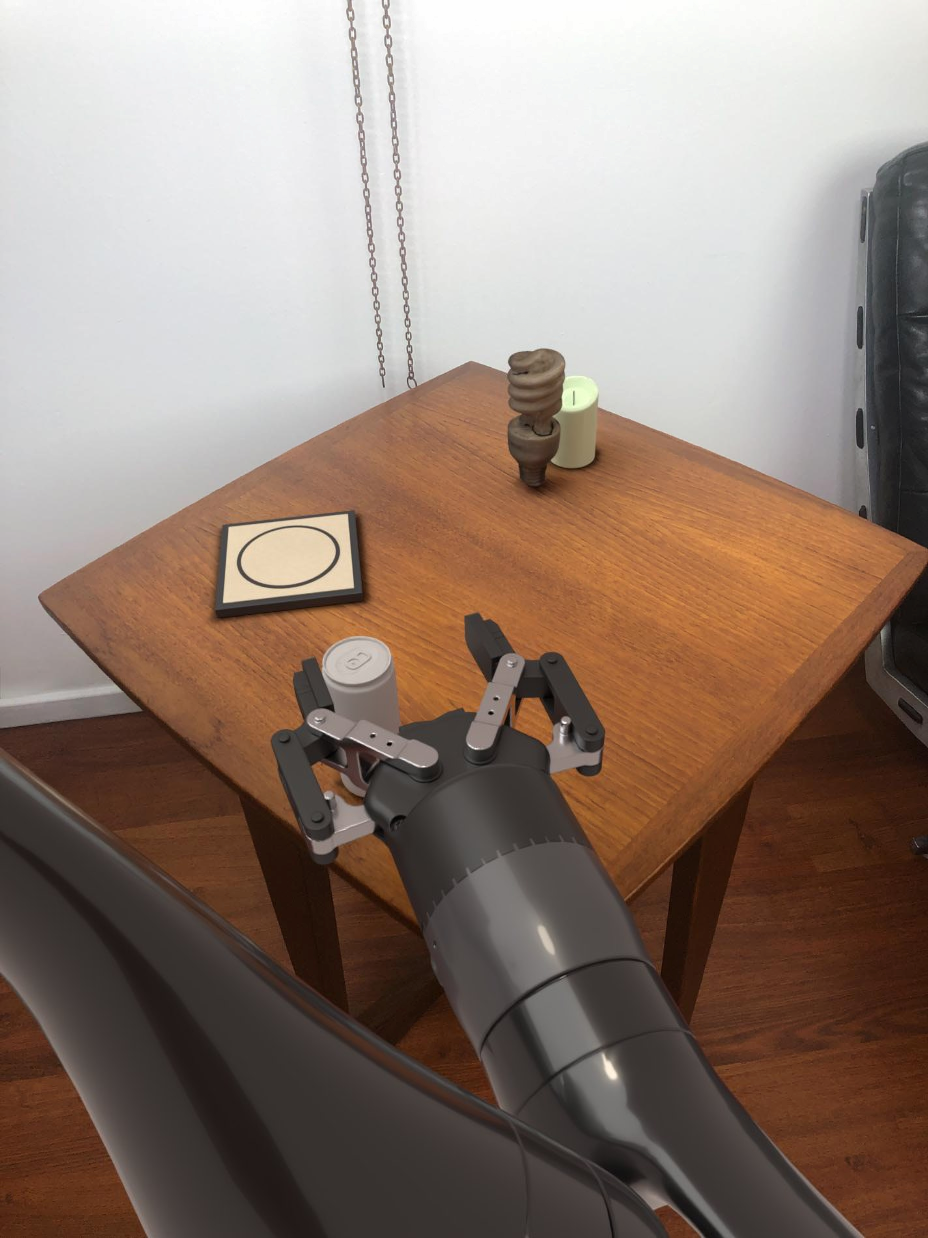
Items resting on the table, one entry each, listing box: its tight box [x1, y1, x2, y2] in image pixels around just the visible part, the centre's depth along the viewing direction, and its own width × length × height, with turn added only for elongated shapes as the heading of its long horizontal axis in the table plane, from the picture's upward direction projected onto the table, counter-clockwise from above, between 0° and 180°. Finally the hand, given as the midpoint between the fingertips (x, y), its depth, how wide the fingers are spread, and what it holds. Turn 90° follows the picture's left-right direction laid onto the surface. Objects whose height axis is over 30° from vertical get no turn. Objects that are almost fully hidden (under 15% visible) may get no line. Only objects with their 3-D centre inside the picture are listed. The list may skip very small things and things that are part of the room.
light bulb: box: [506, 347, 566, 488], centre depth 94 cm, size 6×6×15 cm
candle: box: [550, 375, 600, 469], centre depth 100 cm, size 5×5×8 cm
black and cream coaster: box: [214, 509, 364, 619], centre depth 90 cm, size 13×13×1 cm
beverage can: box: [321, 635, 402, 798], centre depth 67 cm, size 5×5×12 cm
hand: (391, 647), depth 49 cm, fingers open, 8 cm apart
